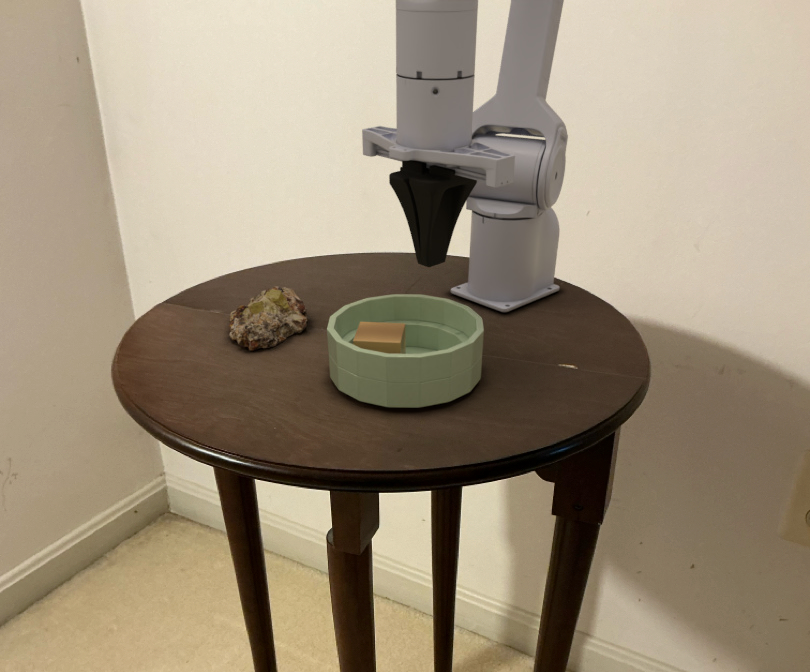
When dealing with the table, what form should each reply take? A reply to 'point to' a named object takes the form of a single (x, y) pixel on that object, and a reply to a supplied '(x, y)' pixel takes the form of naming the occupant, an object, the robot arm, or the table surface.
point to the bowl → (408, 351)
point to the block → (381, 337)
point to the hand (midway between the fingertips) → (431, 262)
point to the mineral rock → (268, 319)
